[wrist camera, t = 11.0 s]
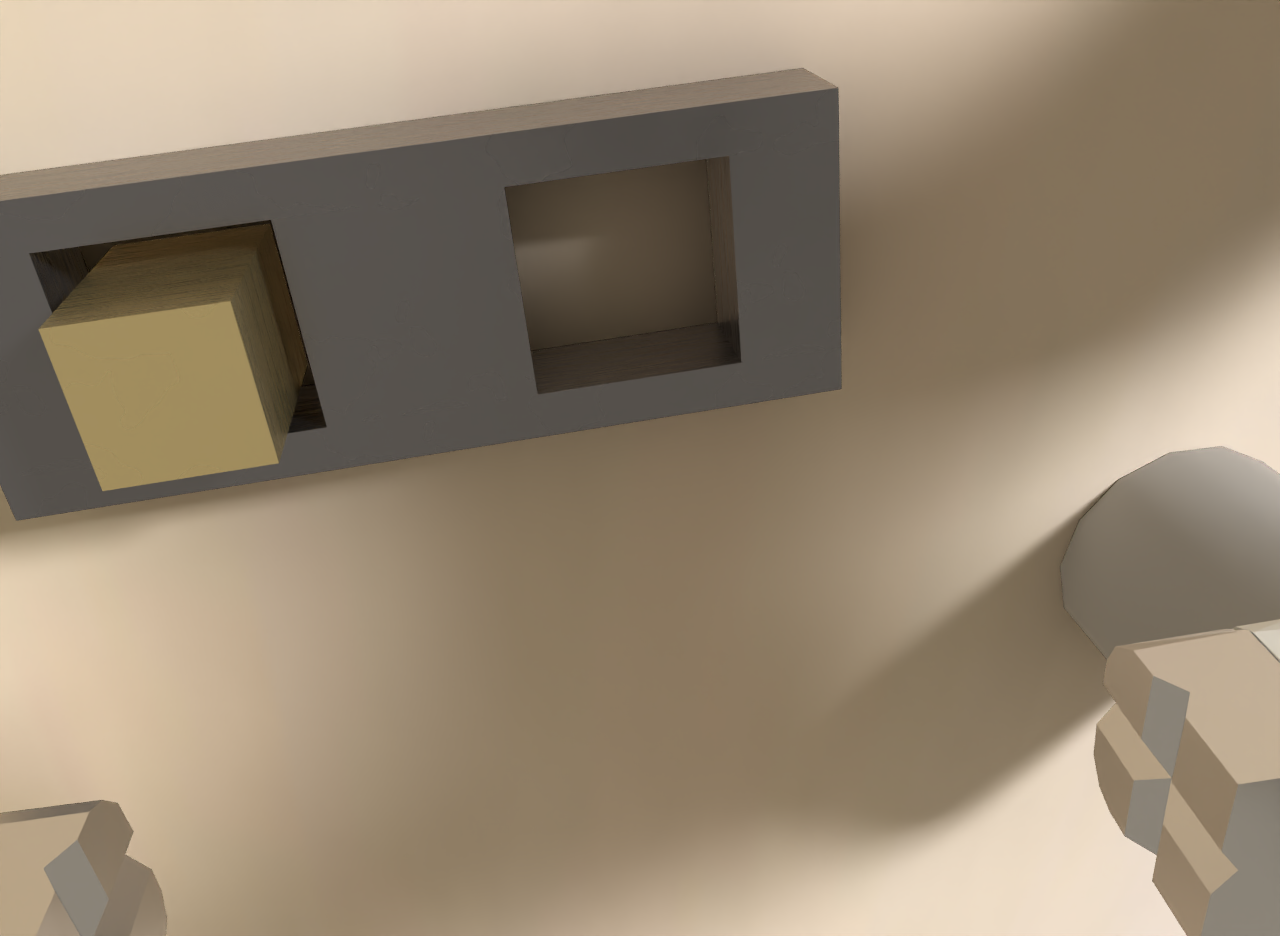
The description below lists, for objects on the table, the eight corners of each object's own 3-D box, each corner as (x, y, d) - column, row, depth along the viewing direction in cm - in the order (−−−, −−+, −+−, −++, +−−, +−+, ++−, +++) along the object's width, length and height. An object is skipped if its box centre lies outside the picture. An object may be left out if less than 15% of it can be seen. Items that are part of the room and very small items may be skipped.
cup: (1331, 487, 39) (1588, 668, 30) (1194, 667, 42) (1390, 876, 33) (1147, 418, 36) (1369, 593, 27) (1016, 614, 39) (1177, 828, 30)
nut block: (270, 223, 29) (230, 301, 24) (307, 362, 31) (279, 463, 25) (113, 245, 28) (38, 329, 23) (161, 384, 30) (102, 491, 25)
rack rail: (803, 68, 29) (838, 87, 26) (810, 347, 33) (841, 388, 30) (-65, 183, 27) (-120, 217, 24) (52, 465, 31) (16, 520, 28)
